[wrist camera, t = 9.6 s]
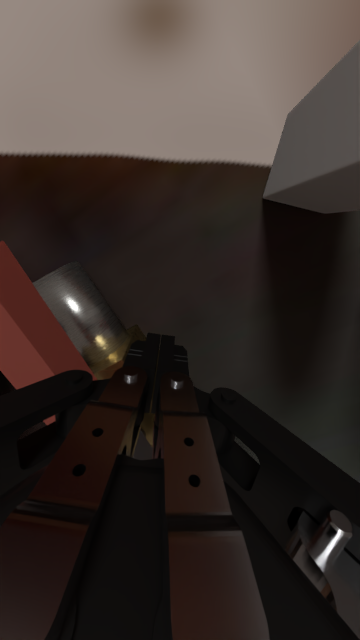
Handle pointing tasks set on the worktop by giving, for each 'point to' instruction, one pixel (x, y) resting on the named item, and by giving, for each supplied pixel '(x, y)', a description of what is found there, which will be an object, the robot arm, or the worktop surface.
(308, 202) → the milk
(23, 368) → the lever
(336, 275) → the worktop surface
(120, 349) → the pipe valve
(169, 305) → the worktop surface
